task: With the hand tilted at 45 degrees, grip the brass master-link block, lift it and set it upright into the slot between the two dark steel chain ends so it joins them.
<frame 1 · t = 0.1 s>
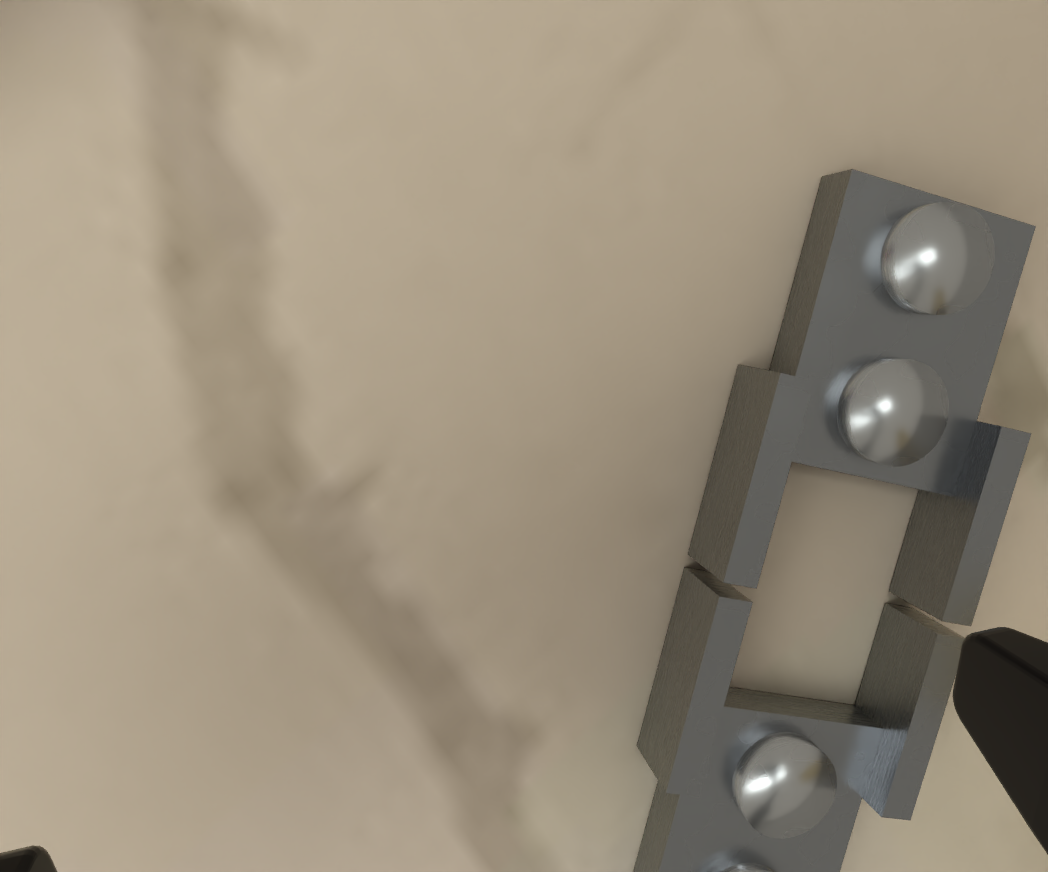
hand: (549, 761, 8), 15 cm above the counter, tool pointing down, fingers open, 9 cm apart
chain ends: (803, 582, 26), on the counter
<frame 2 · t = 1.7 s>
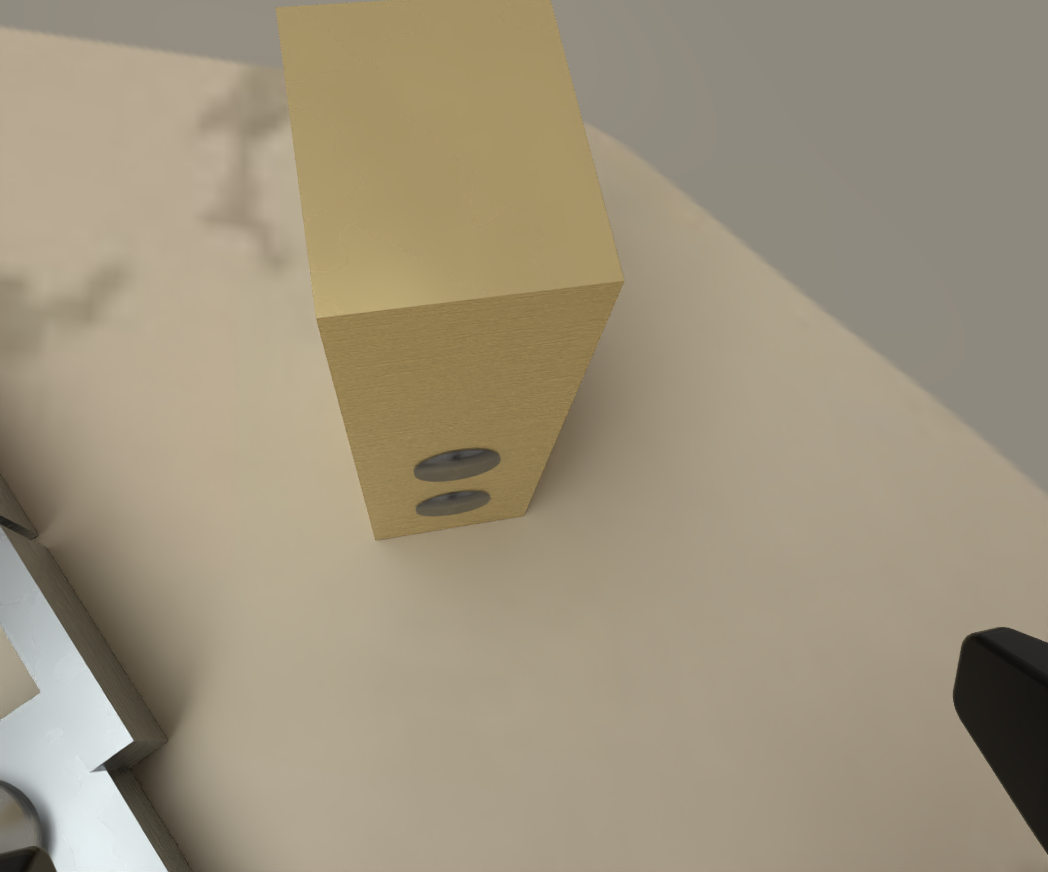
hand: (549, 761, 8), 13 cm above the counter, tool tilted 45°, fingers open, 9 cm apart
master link: (435, 440, 23), on the counter
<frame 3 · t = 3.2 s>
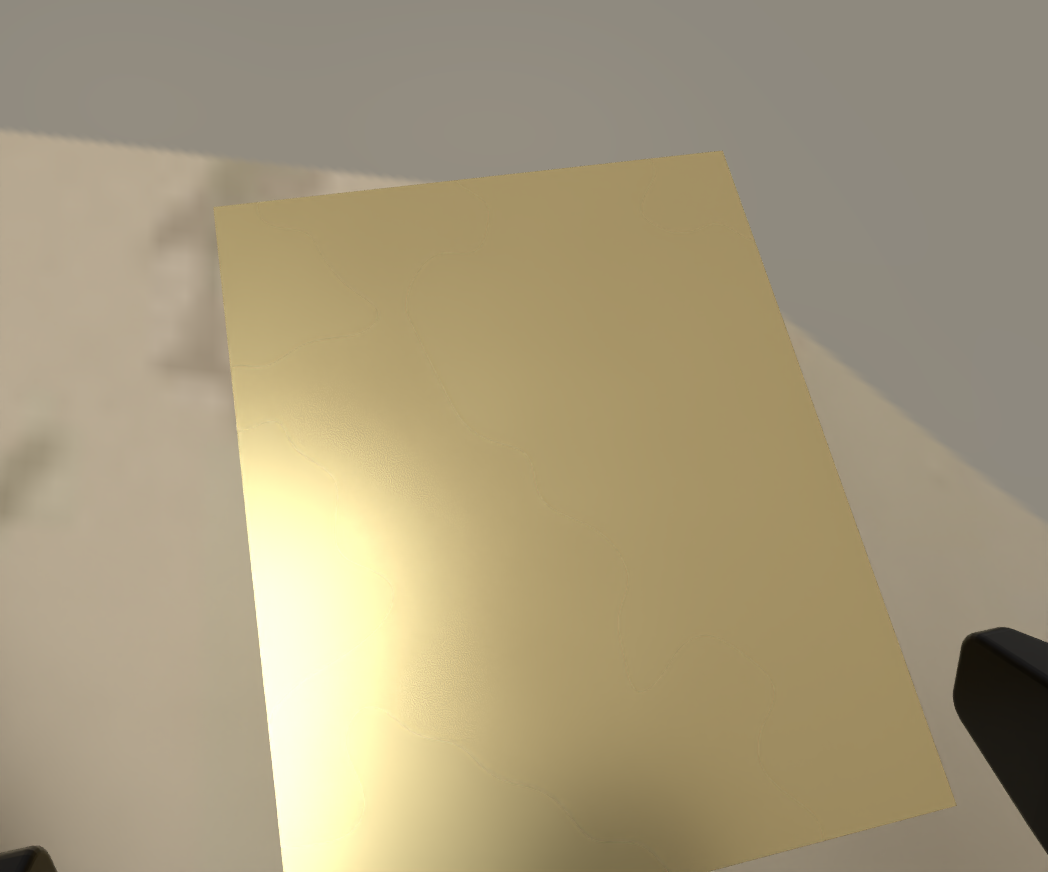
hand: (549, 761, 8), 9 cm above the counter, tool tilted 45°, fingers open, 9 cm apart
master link: (471, 668, 17), on the counter
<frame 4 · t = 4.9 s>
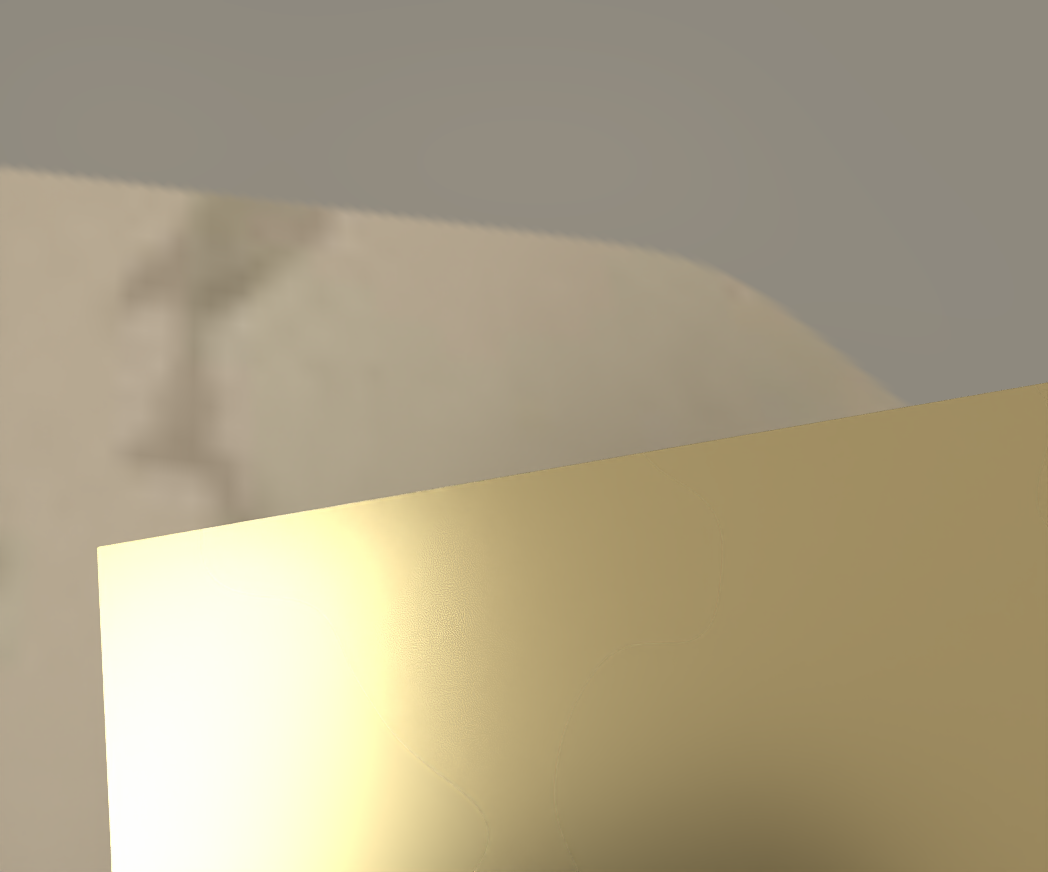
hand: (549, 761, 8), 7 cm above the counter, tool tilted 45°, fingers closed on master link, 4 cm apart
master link: (514, 846, 14), on the counter, touching gripper
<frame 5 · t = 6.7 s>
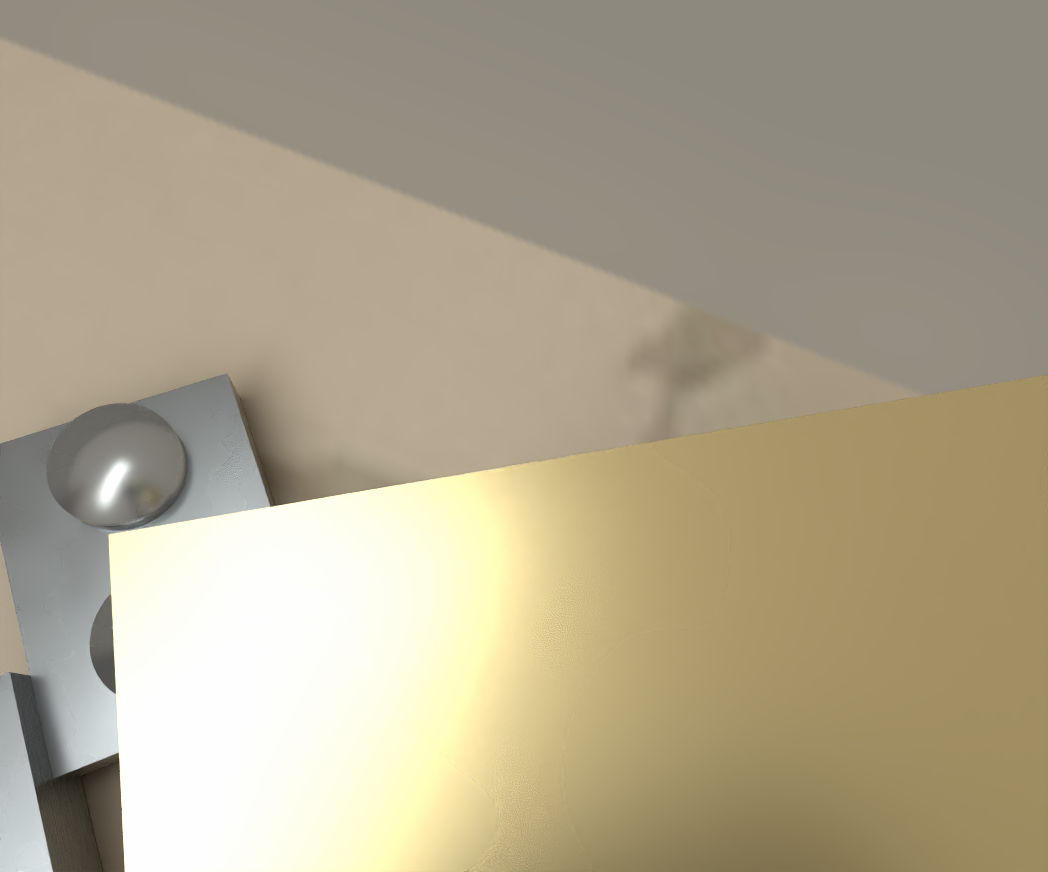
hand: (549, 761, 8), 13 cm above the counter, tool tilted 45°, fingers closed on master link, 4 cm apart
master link: (516, 843, 14), point 7 cm above the counter, touching gripper
when the fingers open (7 cm above the counter, at t = 8.9 s): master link stays where it is, resting in chain ends.
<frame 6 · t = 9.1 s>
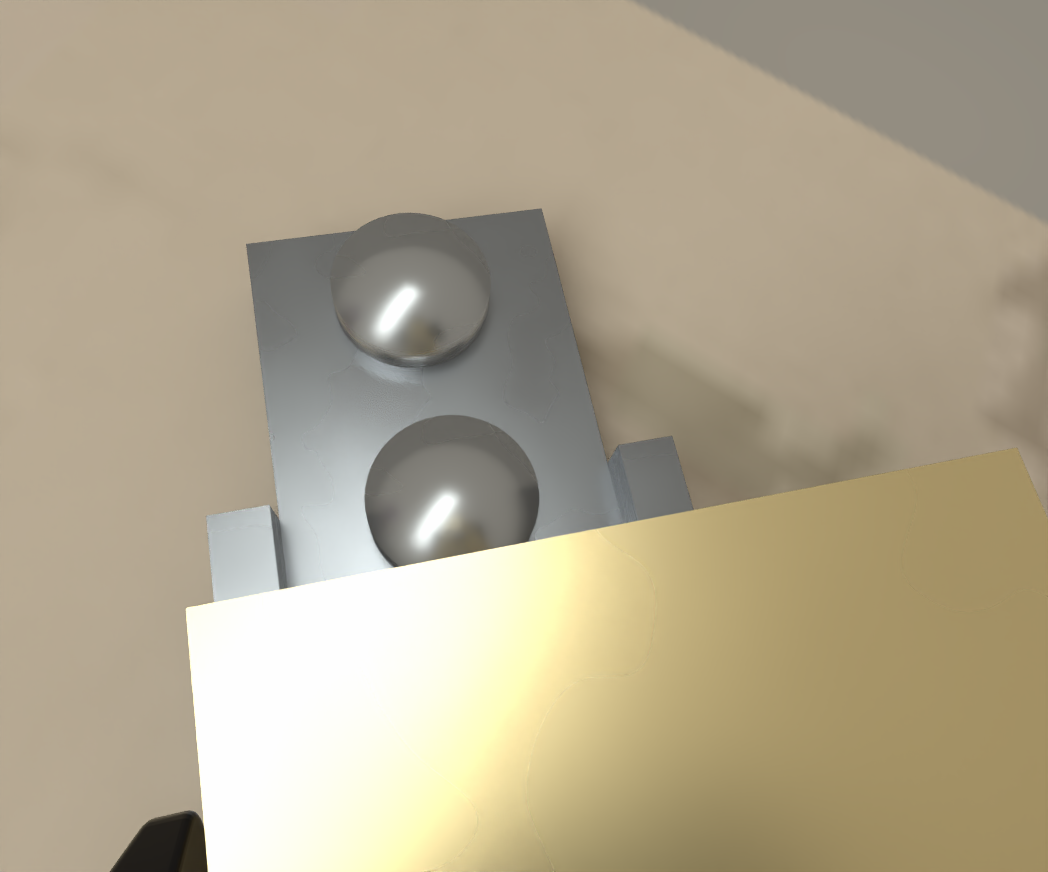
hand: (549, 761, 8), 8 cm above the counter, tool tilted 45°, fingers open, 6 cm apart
chain ends: (509, 840, 15), on the counter
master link: (513, 839, 15), resting in chain ends
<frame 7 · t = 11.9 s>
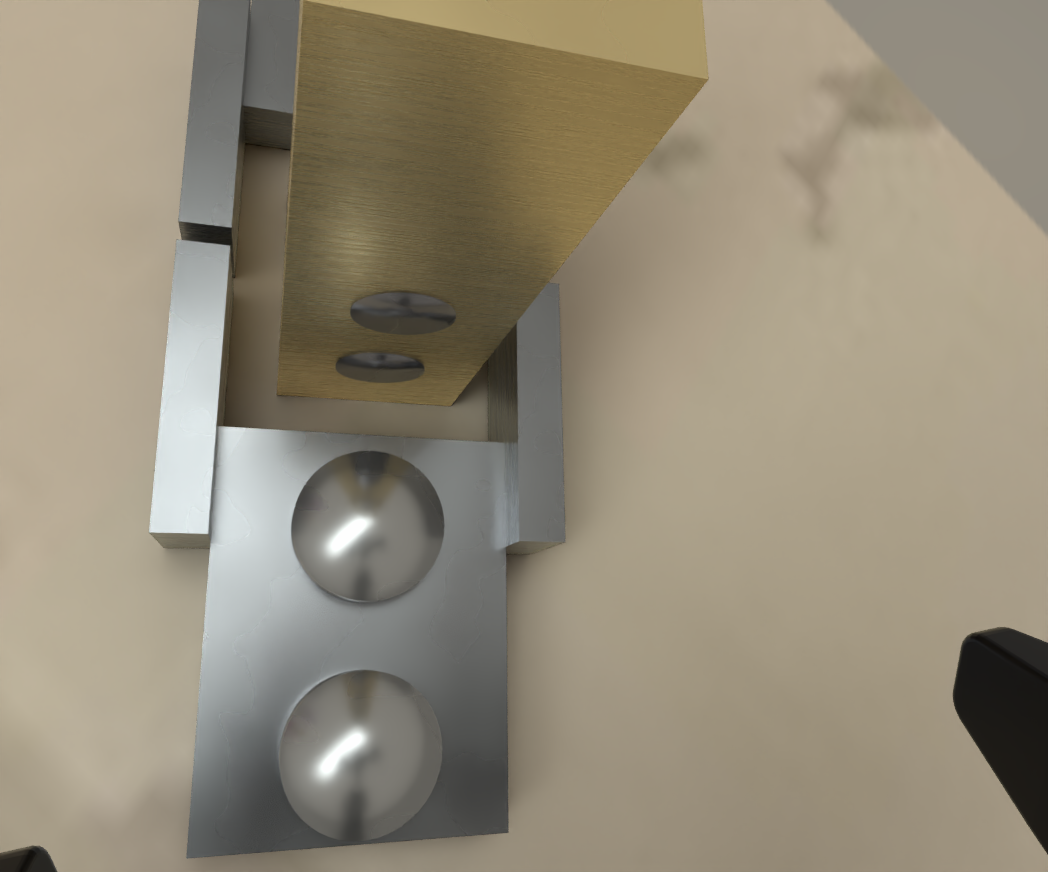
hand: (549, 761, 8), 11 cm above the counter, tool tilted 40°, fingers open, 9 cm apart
chain ends: (366, 299, 20), on the counter
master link: (369, 300, 20), resting in chain ends
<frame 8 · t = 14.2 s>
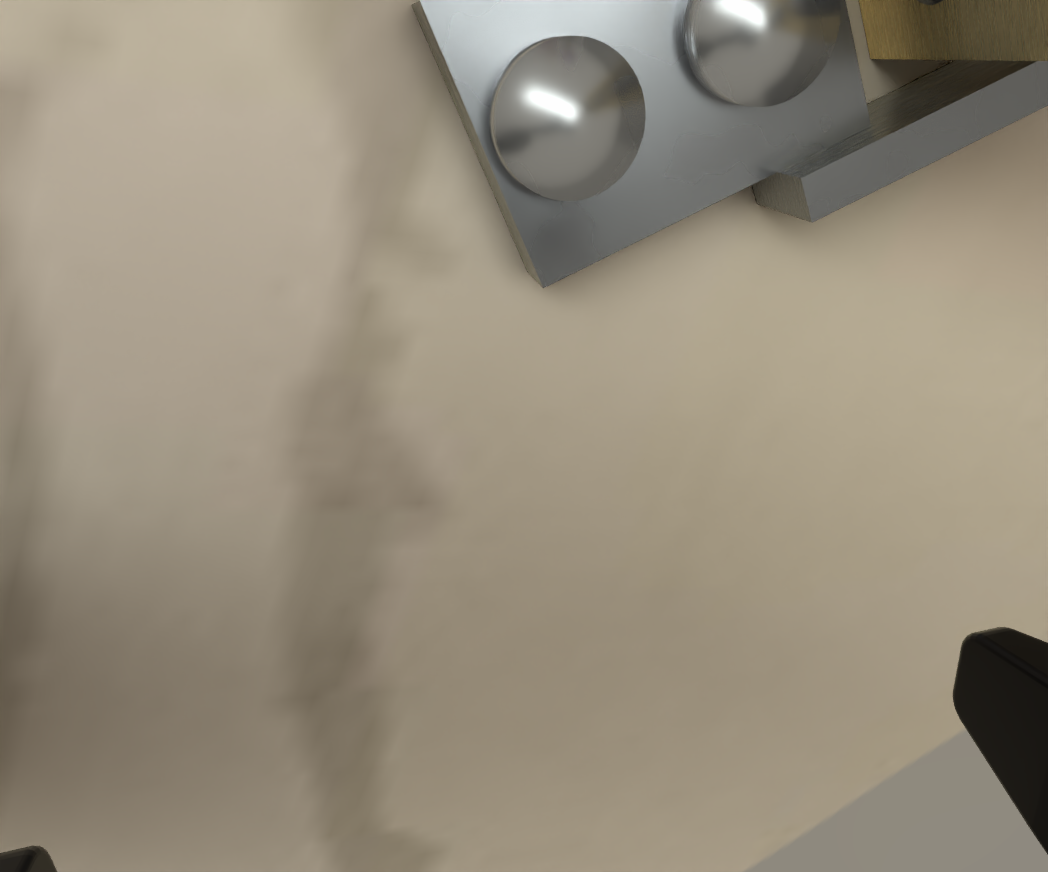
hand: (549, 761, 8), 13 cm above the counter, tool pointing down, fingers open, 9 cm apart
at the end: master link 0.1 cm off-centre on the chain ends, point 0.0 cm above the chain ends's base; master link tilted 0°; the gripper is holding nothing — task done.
